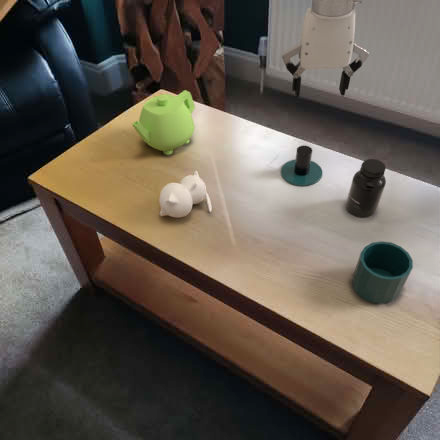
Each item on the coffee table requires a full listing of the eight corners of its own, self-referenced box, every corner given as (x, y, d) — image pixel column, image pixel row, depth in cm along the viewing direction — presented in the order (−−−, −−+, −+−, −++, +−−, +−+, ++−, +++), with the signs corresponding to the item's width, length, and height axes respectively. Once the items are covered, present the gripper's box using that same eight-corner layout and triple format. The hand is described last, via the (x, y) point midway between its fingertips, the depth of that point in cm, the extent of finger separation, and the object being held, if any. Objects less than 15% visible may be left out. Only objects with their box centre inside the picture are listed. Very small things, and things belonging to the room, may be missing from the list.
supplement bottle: (342, 215, 96) (353, 171, 87) (348, 196, 100) (359, 152, 91) (373, 223, 95) (388, 178, 85) (378, 203, 98) (393, 158, 89)
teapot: (157, 169, 109) (149, 124, 99) (123, 149, 115) (112, 105, 105) (211, 134, 118) (208, 89, 108) (177, 117, 123) (172, 73, 113)
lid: (314, 160, 109) (318, 135, 103) (327, 185, 103) (332, 159, 97) (276, 165, 108) (278, 140, 103) (286, 190, 102) (289, 165, 97)
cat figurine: (197, 159, 95) (157, 185, 90) (227, 197, 96) (189, 225, 91) (185, 178, 103) (147, 203, 98) (212, 213, 104) (177, 239, 98)
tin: (389, 263, 88) (400, 238, 82) (408, 299, 82) (421, 275, 76) (345, 270, 87) (353, 245, 81) (362, 307, 81) (371, 282, 76)
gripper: (376, -7, 81) (356, 83, 95) (284, -4, 82) (277, 85, 96) (384, 9, 77) (362, 101, 90) (287, 12, 77) (280, 103, 91)
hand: (319, 93), depth 93 cm, fingers open, 9 cm apart
